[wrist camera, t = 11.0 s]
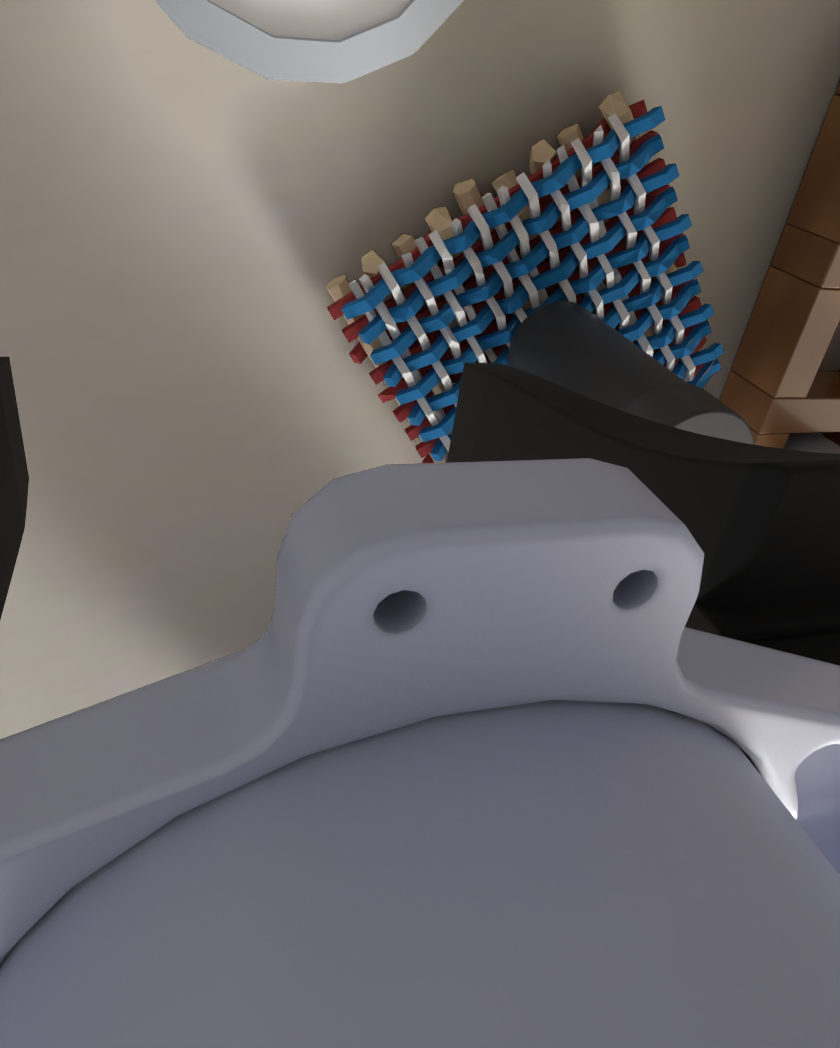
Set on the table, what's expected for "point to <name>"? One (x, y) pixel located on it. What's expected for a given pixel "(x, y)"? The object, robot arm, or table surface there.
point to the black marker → (616, 372)
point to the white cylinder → (310, 33)
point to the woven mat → (533, 271)
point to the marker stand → (797, 313)
